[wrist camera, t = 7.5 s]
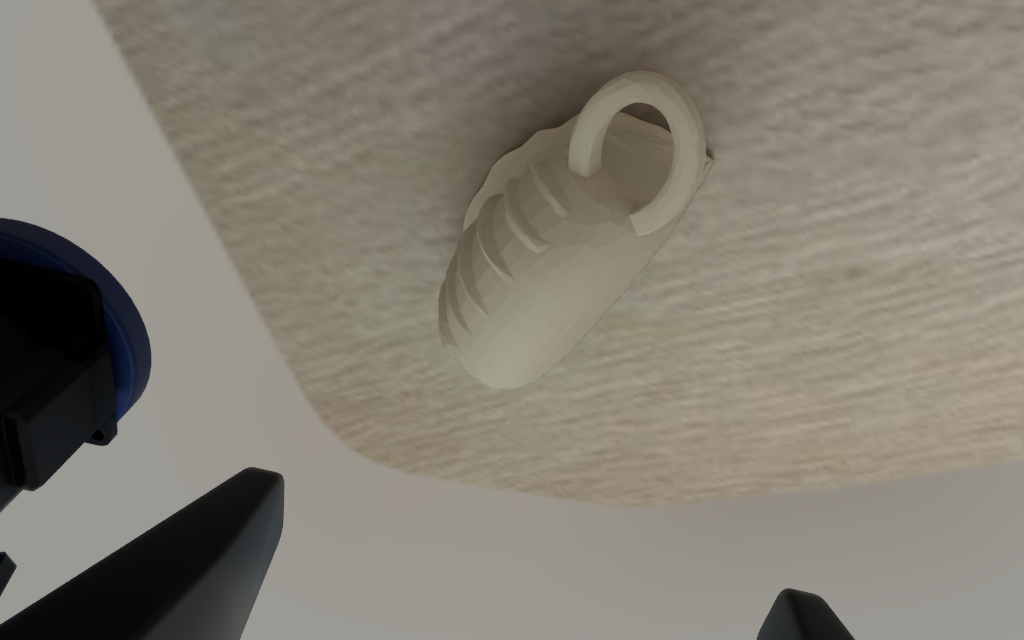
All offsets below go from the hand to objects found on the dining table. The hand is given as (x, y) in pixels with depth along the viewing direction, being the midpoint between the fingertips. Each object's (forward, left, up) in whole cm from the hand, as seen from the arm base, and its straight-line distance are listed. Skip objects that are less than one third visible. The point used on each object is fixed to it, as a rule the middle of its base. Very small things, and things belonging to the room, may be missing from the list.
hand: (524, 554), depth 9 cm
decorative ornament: (0, 0, -11) cm, 11 cm away
